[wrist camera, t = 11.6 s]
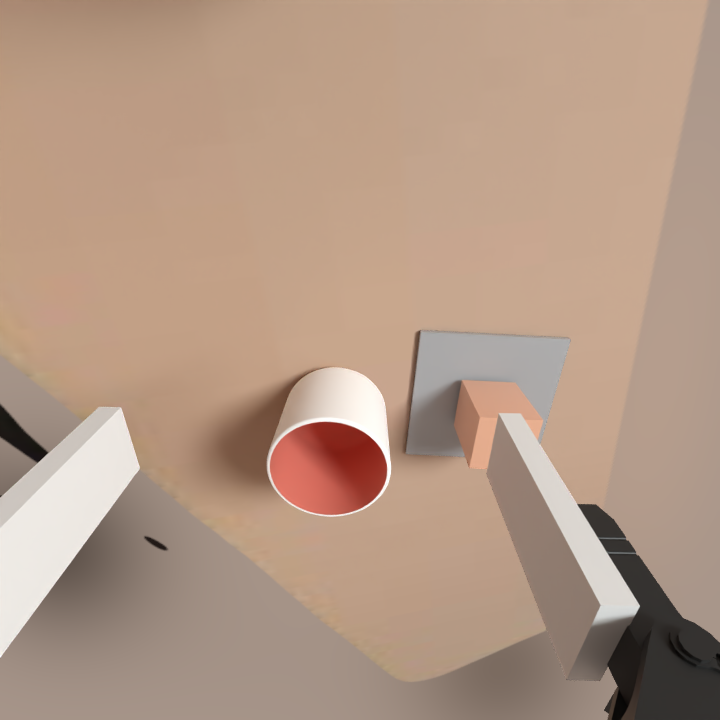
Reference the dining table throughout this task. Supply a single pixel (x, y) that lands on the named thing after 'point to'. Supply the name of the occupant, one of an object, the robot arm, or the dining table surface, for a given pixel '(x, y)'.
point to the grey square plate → (480, 363)
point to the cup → (331, 444)
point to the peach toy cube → (488, 416)
